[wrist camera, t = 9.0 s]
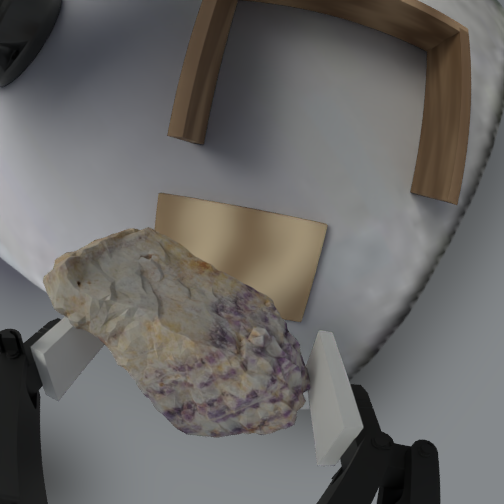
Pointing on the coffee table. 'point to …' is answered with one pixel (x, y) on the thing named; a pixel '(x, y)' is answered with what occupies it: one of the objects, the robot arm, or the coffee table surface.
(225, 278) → the mineral specimen
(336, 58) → the coffee table surface
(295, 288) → the mat
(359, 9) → the brown open u-shaped frame
